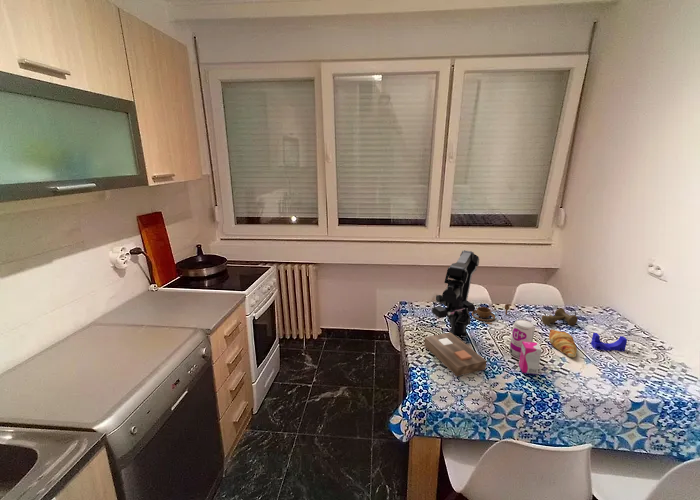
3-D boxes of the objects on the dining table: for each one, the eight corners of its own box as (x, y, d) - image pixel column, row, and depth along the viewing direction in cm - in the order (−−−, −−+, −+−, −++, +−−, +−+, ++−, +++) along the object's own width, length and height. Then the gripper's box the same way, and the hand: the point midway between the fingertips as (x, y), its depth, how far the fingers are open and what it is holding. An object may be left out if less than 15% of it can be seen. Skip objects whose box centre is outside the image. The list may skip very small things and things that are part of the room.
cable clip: (594, 349, 150) (597, 337, 149) (590, 344, 155) (593, 332, 153) (625, 353, 147) (628, 341, 146) (620, 348, 151) (623, 336, 150)
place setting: (470, 309, 190) (471, 299, 189) (508, 313, 185) (509, 304, 184) (472, 323, 174) (474, 313, 172) (514, 328, 169) (515, 318, 167)
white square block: (446, 344, 152) (446, 337, 151) (452, 350, 148) (453, 343, 147) (437, 346, 150) (437, 339, 149) (443, 352, 146) (444, 345, 145)
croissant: (578, 367, 143) (591, 353, 140) (558, 356, 142) (571, 342, 140) (555, 340, 163) (566, 328, 160) (537, 330, 163) (548, 318, 160)
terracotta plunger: (463, 357, 141) (464, 350, 140) (470, 363, 136) (471, 356, 135) (453, 359, 139) (454, 352, 138) (461, 365, 135) (461, 358, 134)
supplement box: (533, 366, 137) (537, 342, 134) (537, 375, 131) (542, 350, 128) (518, 364, 138) (522, 340, 135) (521, 373, 133) (526, 348, 130)
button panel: (449, 339, 157) (450, 332, 156) (485, 369, 135) (486, 360, 134) (424, 345, 152) (424, 337, 151) (456, 376, 130) (457, 367, 129)
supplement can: (521, 361, 140) (527, 329, 136) (505, 351, 148) (509, 321, 144) (534, 356, 144) (539, 325, 140) (517, 347, 151) (522, 317, 147)
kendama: (536, 321, 177) (567, 316, 182) (550, 330, 168) (582, 324, 173) (538, 310, 176) (569, 306, 180) (552, 319, 167) (585, 314, 171)
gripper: (460, 284, 153) (457, 314, 157) (425, 290, 146) (423, 321, 151) (477, 293, 143) (473, 325, 147) (441, 300, 136) (438, 333, 141)
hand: (452, 326), depth 147 cm, fingers closed
